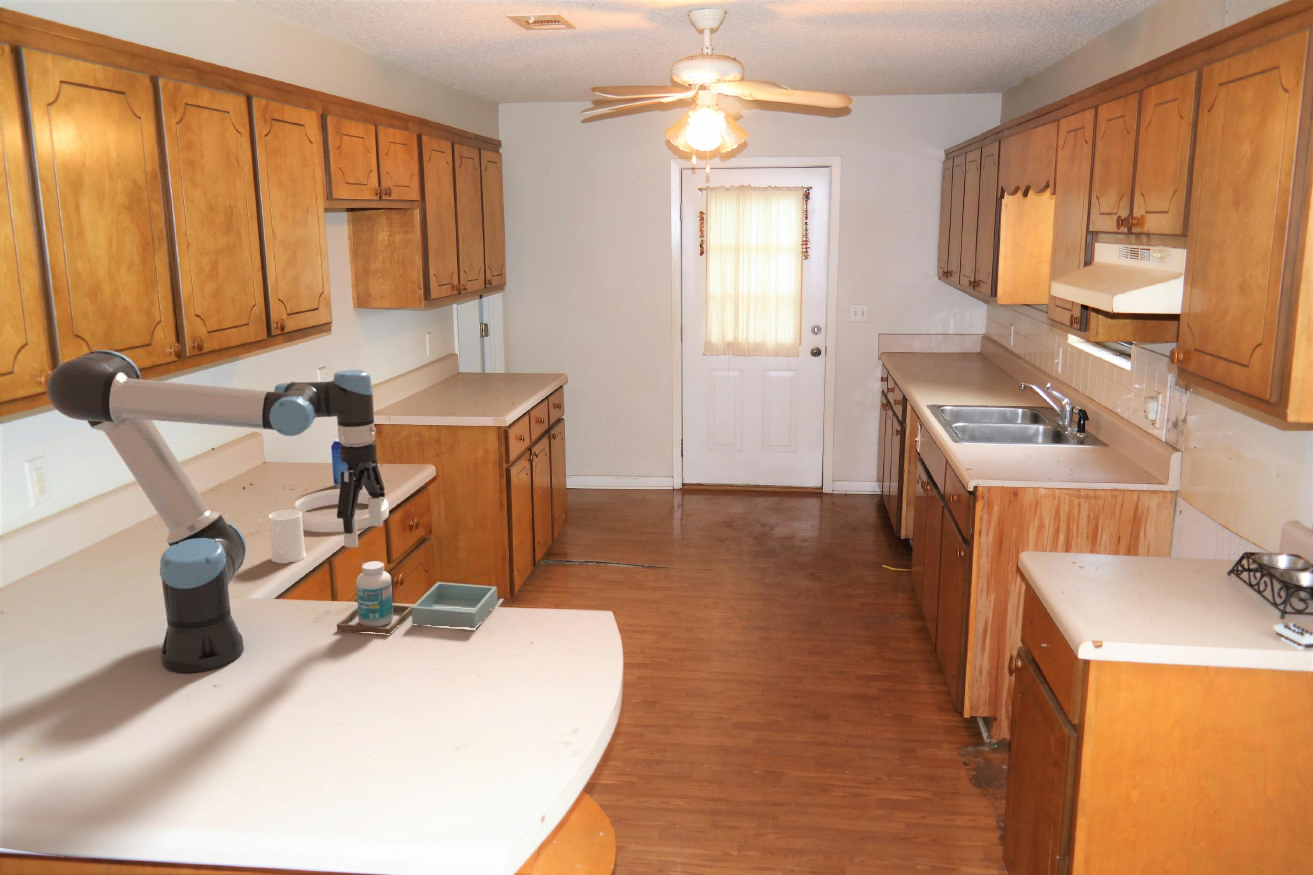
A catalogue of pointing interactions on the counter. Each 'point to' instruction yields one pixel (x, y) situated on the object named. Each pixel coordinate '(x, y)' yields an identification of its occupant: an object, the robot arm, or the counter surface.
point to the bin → (454, 605)
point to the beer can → (337, 463)
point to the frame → (345, 626)
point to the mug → (286, 536)
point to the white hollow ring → (330, 520)
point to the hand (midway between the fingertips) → (364, 535)
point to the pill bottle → (374, 595)
